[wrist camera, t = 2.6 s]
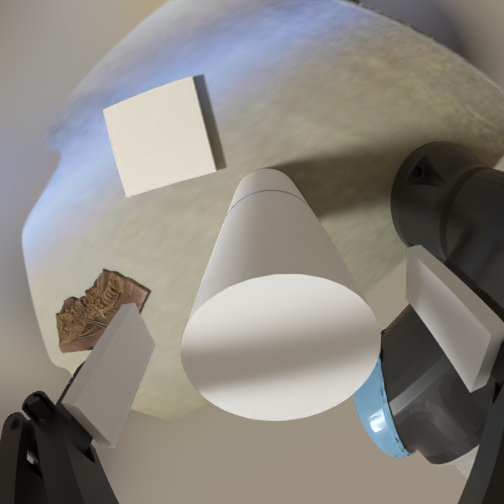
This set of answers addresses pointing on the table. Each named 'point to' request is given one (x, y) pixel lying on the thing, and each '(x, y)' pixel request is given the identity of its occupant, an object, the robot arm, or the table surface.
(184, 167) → the ceramic tile
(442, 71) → the table surface
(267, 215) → the cylindrical container
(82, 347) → the brown relief tablet
